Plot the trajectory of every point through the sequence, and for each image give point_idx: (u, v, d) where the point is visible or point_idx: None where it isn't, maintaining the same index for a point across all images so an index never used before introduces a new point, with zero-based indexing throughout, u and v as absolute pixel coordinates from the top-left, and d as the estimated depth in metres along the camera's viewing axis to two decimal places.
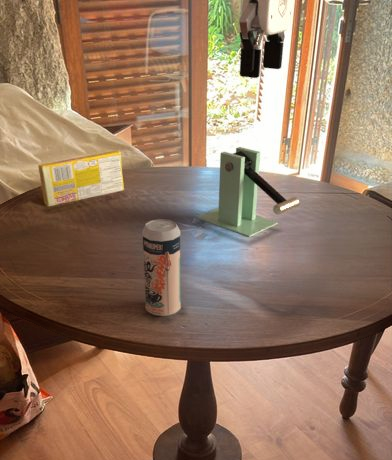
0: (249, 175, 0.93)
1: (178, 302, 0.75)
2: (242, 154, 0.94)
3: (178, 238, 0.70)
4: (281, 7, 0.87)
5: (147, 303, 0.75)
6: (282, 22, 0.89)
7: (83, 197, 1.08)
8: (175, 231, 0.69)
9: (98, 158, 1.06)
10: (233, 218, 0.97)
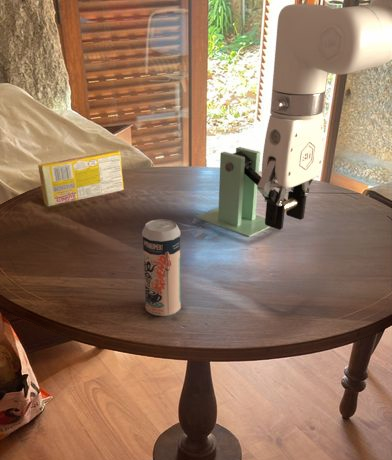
0: (249, 175, 0.93)
1: (178, 302, 0.75)
2: (242, 154, 0.94)
3: (178, 238, 0.70)
4: (304, 161, 0.85)
5: (147, 303, 0.75)
6: (306, 174, 0.87)
7: (83, 197, 1.08)
8: (175, 231, 0.69)
9: (98, 158, 1.06)
10: (233, 218, 0.97)
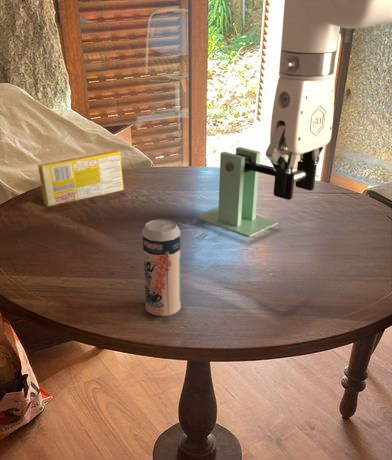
0: (251, 168, 0.92)
1: (178, 302, 0.75)
2: (239, 154, 0.94)
3: (178, 238, 0.70)
4: (315, 126, 0.82)
5: (147, 303, 0.75)
6: (317, 140, 0.83)
7: (83, 197, 1.08)
8: (175, 231, 0.69)
9: (97, 158, 1.06)
10: (233, 218, 0.97)
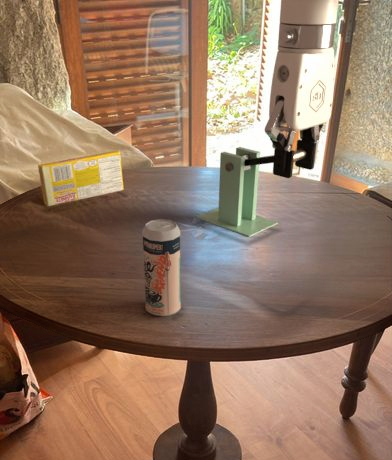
0: (251, 162, 0.92)
1: (178, 302, 0.75)
2: None
3: (178, 238, 0.70)
4: (314, 102, 0.80)
5: (147, 303, 0.75)
6: (316, 116, 0.82)
7: (83, 197, 1.08)
8: (175, 231, 0.69)
9: (97, 158, 1.06)
10: (233, 218, 0.97)
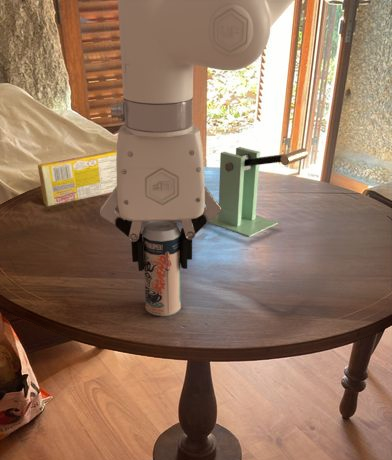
0: (251, 162, 0.92)
1: (178, 302, 0.75)
2: None
3: (178, 238, 0.70)
4: (158, 192, 0.65)
5: (147, 303, 0.75)
6: (166, 210, 0.66)
7: (82, 197, 1.08)
8: (175, 232, 0.69)
9: (97, 158, 1.06)
10: (233, 218, 0.97)
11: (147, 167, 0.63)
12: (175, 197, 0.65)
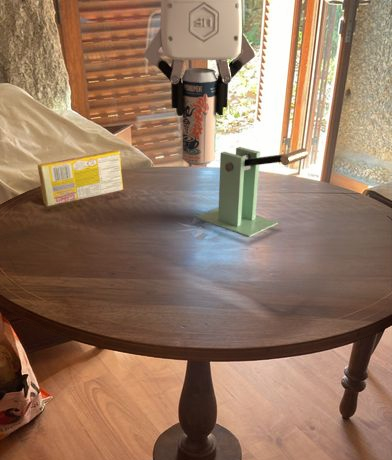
0: (251, 162, 0.92)
1: (213, 151, 0.81)
2: None
3: (215, 82, 0.76)
4: (200, 29, 0.70)
5: (184, 152, 0.80)
6: (206, 47, 0.72)
7: (82, 197, 1.08)
8: (213, 75, 0.75)
9: (97, 158, 1.06)
10: (233, 218, 0.97)
11: (191, 1, 0.69)
12: (215, 34, 0.71)
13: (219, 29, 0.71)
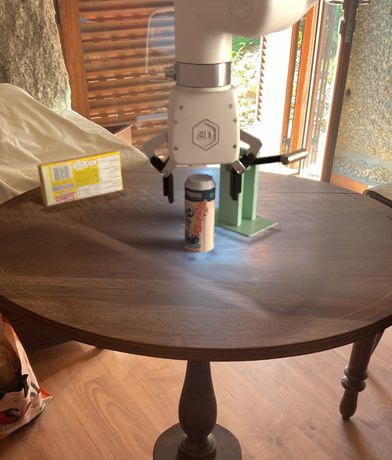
0: None
1: (212, 244, 0.90)
2: None
3: (214, 188, 0.85)
4: (202, 140, 0.79)
5: (186, 245, 0.90)
6: (208, 155, 0.80)
7: (82, 197, 1.08)
8: (212, 183, 0.84)
9: (97, 158, 1.06)
10: (233, 218, 0.97)
11: (194, 118, 0.77)
12: (216, 144, 0.79)
13: (219, 140, 0.79)
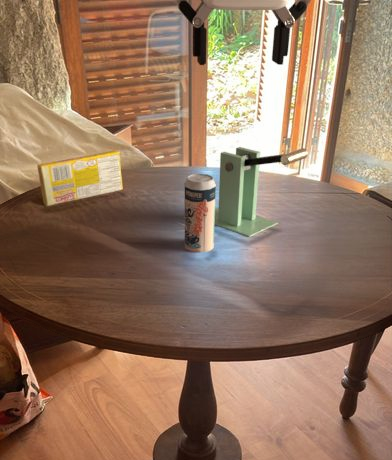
0: (251, 162, 0.92)
1: (212, 244, 0.90)
2: None
3: (214, 188, 0.85)
4: None
5: (186, 245, 0.90)
6: None
7: (82, 197, 1.08)
8: (212, 183, 0.84)
9: (97, 158, 1.07)
10: (233, 218, 0.97)
11: None
12: None
13: None
